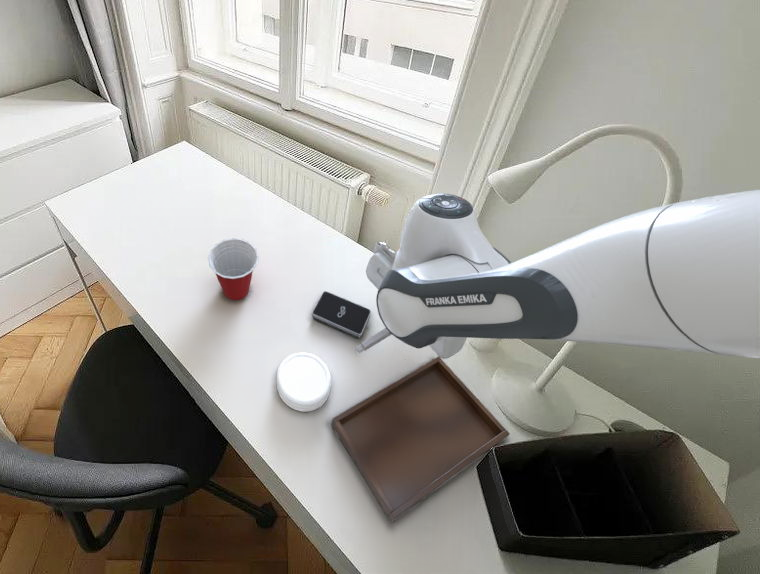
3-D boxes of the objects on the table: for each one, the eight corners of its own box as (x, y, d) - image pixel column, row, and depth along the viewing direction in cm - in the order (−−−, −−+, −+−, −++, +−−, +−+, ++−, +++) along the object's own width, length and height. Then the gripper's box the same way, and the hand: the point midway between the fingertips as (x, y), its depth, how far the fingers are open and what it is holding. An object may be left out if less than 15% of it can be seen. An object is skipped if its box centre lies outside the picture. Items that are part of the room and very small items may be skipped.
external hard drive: (359, 340, 84) (360, 335, 82) (310, 318, 88) (310, 313, 87) (370, 315, 88) (371, 310, 87) (322, 295, 93) (323, 290, 91)
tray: (504, 439, 69) (510, 433, 67) (391, 523, 61) (394, 518, 59) (435, 362, 80) (438, 356, 78) (331, 424, 71) (332, 418, 70)
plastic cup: (223, 317, 89) (218, 283, 81) (206, 282, 96) (201, 247, 89) (267, 299, 92) (267, 264, 84) (248, 266, 100) (246, 231, 92)
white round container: (286, 419, 72) (286, 411, 70) (270, 368, 80) (270, 358, 77) (338, 403, 74) (340, 394, 72) (317, 354, 82) (319, 345, 79)
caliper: (438, 307, 80) (448, 286, 76) (442, 311, 79) (452, 290, 75) (354, 349, 72) (360, 329, 68) (358, 354, 71) (364, 334, 68)
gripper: (363, 243, 72) (353, 291, 81) (453, 334, 58) (429, 381, 67) (391, 231, 74) (378, 279, 83) (484, 316, 60) (457, 364, 69)
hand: (402, 325), depth 75 cm, fingers closed on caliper, 1 cm apart
